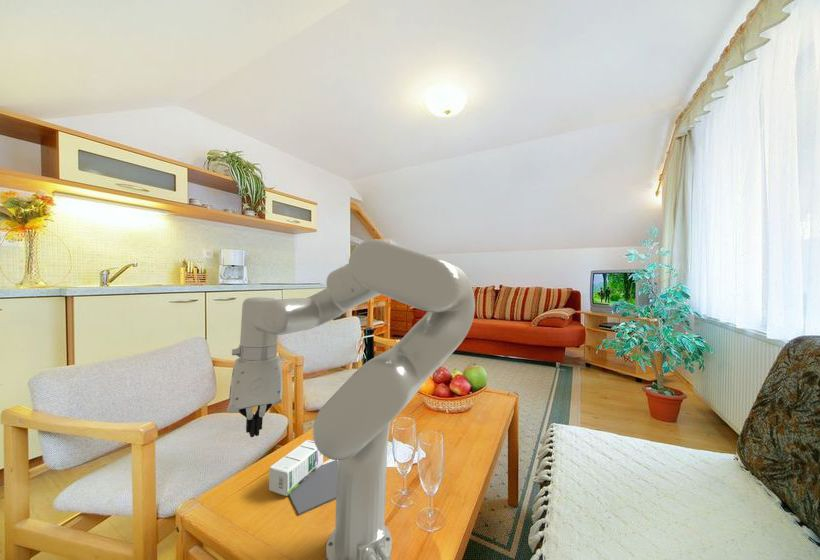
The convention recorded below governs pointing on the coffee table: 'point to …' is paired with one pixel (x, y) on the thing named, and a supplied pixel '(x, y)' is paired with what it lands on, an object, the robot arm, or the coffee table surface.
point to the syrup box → (294, 468)
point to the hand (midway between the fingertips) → (253, 433)
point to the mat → (316, 488)
